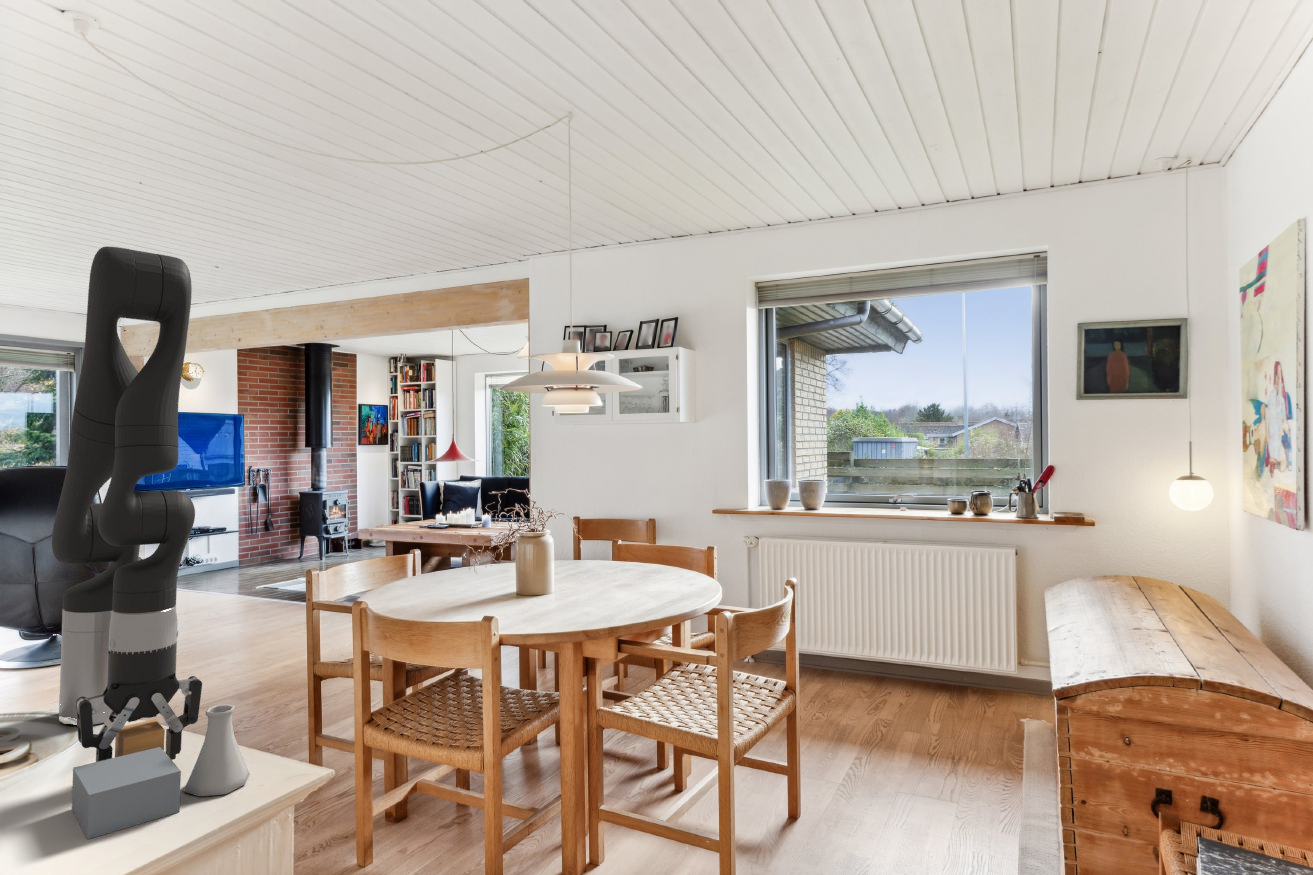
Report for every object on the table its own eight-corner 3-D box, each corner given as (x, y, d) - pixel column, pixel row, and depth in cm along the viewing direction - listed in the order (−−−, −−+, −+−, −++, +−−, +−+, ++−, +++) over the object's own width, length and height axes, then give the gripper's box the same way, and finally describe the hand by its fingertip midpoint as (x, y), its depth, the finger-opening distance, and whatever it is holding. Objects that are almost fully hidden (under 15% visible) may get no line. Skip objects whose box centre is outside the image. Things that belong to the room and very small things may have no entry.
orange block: (114, 772, 100) (115, 727, 100) (153, 762, 104) (155, 719, 103) (122, 784, 97) (124, 738, 97) (163, 773, 100) (164, 729, 100)
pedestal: (71, 808, 91) (73, 767, 91) (158, 785, 97) (160, 746, 97) (87, 839, 85) (88, 794, 85) (179, 811, 91) (180, 770, 91)
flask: (228, 799, 95) (231, 720, 94) (171, 796, 95) (174, 717, 95) (260, 773, 102) (263, 699, 102) (207, 770, 102) (209, 697, 102)
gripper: (195, 626, 108) (191, 742, 108) (70, 644, 97) (65, 772, 98) (213, 638, 103) (208, 759, 103) (82, 658, 92) (77, 793, 92)
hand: (139, 765), depth 100 cm, fingers open, 6 cm apart
